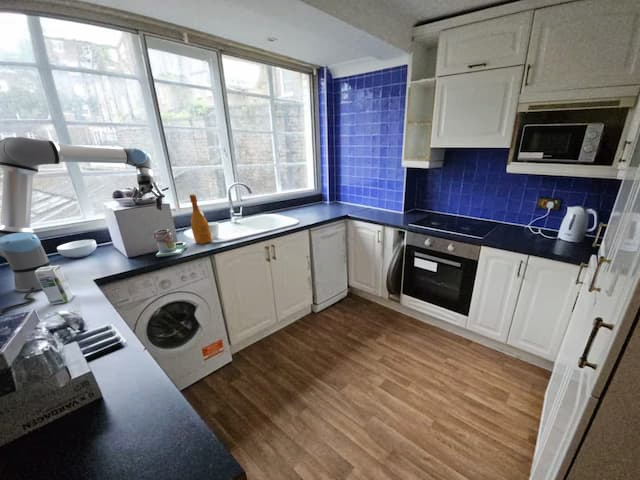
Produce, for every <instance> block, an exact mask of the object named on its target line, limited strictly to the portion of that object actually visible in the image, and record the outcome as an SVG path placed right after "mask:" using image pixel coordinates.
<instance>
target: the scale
mask: <svg viewBox="0 0 640 480" xmlns="http://www.w3.org/2000/svg"><path fill="white" fill-rule="evenodd" d="M175 247H176V249H175V250H174V251H172V252H168V253H161V252H160V251H159V250H158V252H157V253H156V254H155V256H156V258H159V257H160V258H161V257H168V256H169V257H170V256H178V255H181V254H182V253H183V252H184V250H185V249H186V248H187V243H186V242H183V244H182V245H177V246H176V245H175Z"/></svg>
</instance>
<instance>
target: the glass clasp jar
mask: <svg viewBox="0 0 640 480" xmlns="http://www.w3.org/2000/svg"><path fill="white" fill-rule="evenodd" d="M152 239H153V240H155V241H156V244H157V248H158V252H159V251H160V252H161V253H168V252H172V251H174V250H175V249H176V247H175V241H174V237H173V233H172V232H170V229H167V228H166V229H165V228H164V229H158V230H155V231H154V233H153V235H152Z"/></svg>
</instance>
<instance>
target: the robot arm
mask: <svg viewBox="0 0 640 480" xmlns="http://www.w3.org/2000/svg"><path fill="white" fill-rule="evenodd" d="M60 163H94V164H95V163H99V164H126V165H128V166H132V167H135V169H136V170H135V171H136V180H137V184H138V187H136V186H135V187H133V191H132V194H131V196H130V198H131V197H132V198H134V197H135V199H137V198H143V197H144V196H145V195H147V194H150V193H152V194H153V195H154V196H155V204H156V209H157V210H159V211H162V210H163V206H162V205H163V198H165V197H166V195H165V194H164V192H163V191H162V189H161V188H160V185H159V183H158V182H155V181H154V175H153V174H154V173H153V165H152V163H153V161H152V157H151V154H150V153H149V152H147V151H145V150H143V149H141V148H137V147H132V148H131V147H120V146H116V145H112V146H100V145H99V146H98V145H86V144H85V145H83V144H69V143H68V144H65V143H56V142H54V141H53V140H46V139H45V140H44V139H37V138H31V137H25V136H16V137H15V136H10V137H5V138H3V139H1V140H0V168H1V169H2V171H3V176H2V178H3V179H2V193H1V194H2V195H1V215H0V257H2V258H4V259H5V260H6V261H7V263H8V265H9V267H10V268H11V270H12V272H13V275H14V289H15V290H16V292H18V293H25V295H24V296H23V299H24V300H27V301H24V302H20V303H16V304H12V305H9V306H6V307H3V308H1V309H0V317H1V316H3V315H5V314H4V312H5V311H7V310H11V309H15V308H18V307H21V306H25V305H29V304H31V303H33V302H34V301H35V300H36V299H35V297H29V296H30V295H31V293H32V292H37V291H41V290H42V291H43V289H42V287H41V285H40V283H39V281H38V279H37V277H36V275H35V273H34V272H35V271H36V270H37V269H39V268H41V267H49V266H52V264H51V262H50V260H49V258H48V256H47V253H46V251H45V249H44V247H43V245H42V242H41V240H40V238H39V237H38V235H36V234H35V231H34V230H33V229H32V228H31V215H32V200H33V199H32V198H33V184H34V183H33V181H34V176H35V175H37V174H39V166H44V165H59V164H60ZM154 189H155V190H156V191H155V190H154ZM135 205H136V204H135Z"/></svg>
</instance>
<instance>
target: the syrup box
mask: <svg viewBox="0 0 640 480" xmlns="http://www.w3.org/2000/svg"><path fill="white" fill-rule="evenodd" d="M34 273H35V275H36V277H37V279H38V281H39V283H40V285H41V287H42V291H43V293H44V294H45V296H46V299H47V301H48V303H49V305H50V306H53V305H59V304H64V303H69V302H70V301H71V300H72V299H73V298H74V293H73V292H72V289H71V286H70V284H69V283H68V280H67V278H66V276H65V274H64V271H63V269H62V267H61V266H60V264H57V265H56V264H55V265H51V266H49V267H41V268H39V269H37V270H36V271H35V272H34Z"/></svg>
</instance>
